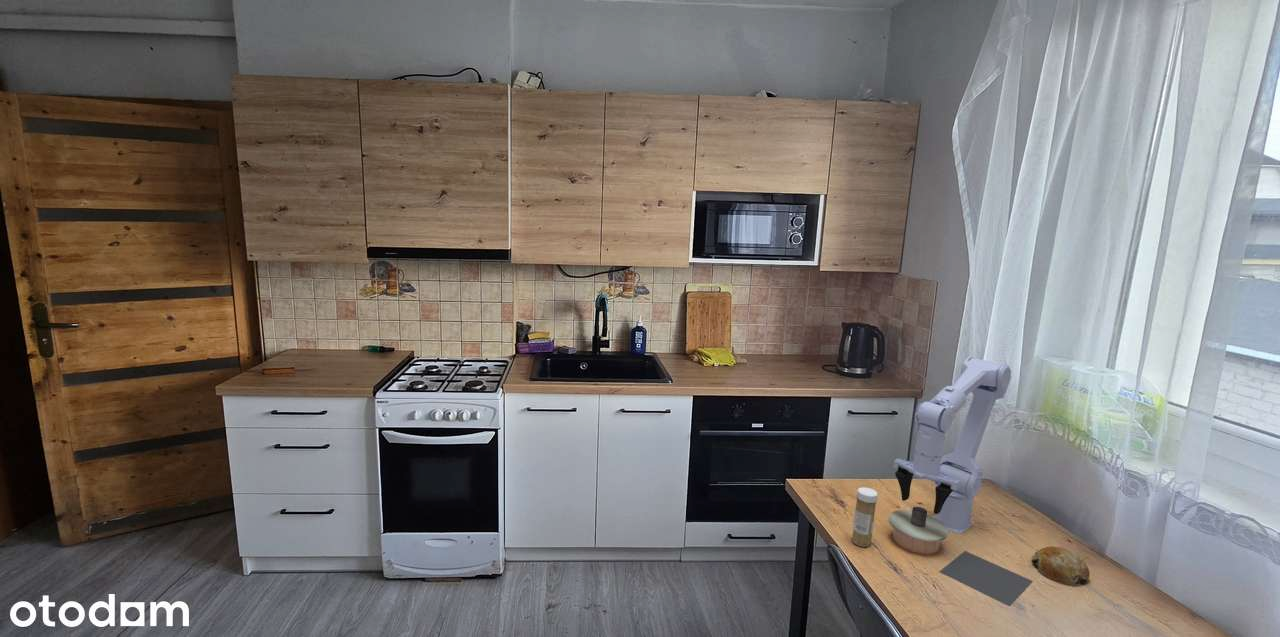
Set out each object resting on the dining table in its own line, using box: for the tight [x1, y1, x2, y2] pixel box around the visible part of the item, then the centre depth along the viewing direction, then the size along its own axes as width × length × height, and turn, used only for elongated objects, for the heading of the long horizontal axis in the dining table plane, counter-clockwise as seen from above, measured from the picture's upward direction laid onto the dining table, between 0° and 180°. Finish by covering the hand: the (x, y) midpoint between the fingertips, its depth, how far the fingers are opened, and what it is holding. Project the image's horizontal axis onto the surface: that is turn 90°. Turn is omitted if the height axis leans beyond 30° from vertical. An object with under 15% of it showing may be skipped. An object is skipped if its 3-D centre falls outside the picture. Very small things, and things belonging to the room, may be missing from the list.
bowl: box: [892, 528, 941, 555], centre depth 138 cm, size 10×10×4 cm
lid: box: [888, 506, 949, 542], centre depth 138 cm, size 13×13×4 cm
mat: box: [938, 550, 1034, 607], centre depth 126 cm, size 14×14×1 cm
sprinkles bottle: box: [851, 487, 879, 548], centre depth 137 cm, size 5×5×14 cm
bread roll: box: [1031, 546, 1090, 588], centre depth 128 cm, size 10×10×8 cm
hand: (920, 505), depth 137 cm, fingers open, 7 cm apart
